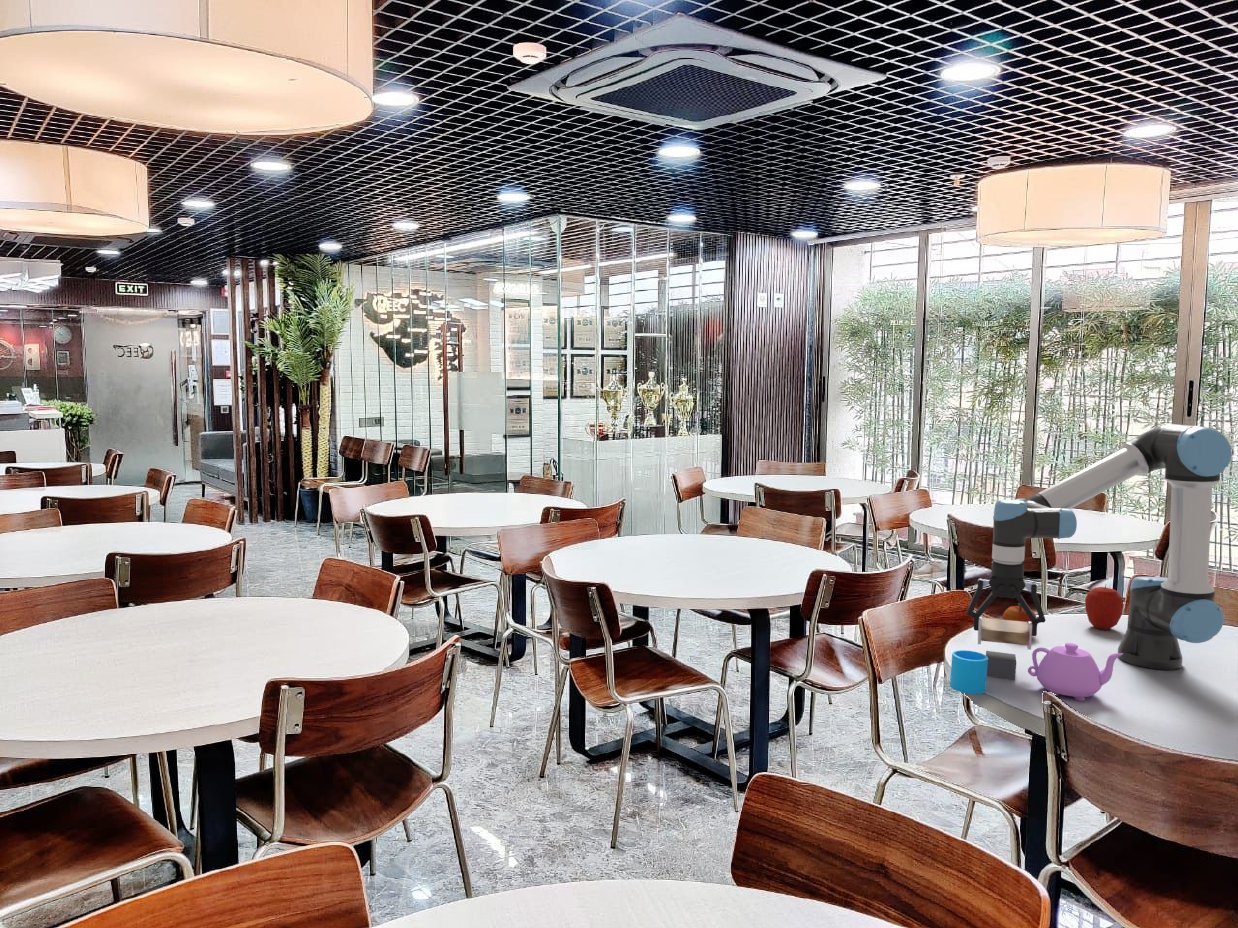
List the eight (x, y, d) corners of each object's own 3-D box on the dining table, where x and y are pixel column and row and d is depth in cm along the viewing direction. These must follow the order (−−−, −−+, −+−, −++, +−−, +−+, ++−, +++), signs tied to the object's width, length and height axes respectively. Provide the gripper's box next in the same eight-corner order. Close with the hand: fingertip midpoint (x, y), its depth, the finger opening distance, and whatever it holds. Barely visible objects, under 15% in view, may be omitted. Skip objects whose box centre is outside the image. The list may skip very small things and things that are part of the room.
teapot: (1120, 693, 219) (1124, 644, 218) (1117, 711, 207) (1121, 660, 205) (1030, 677, 229) (1034, 630, 228) (1022, 693, 217) (1026, 644, 216)
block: (1026, 633, 233) (1027, 621, 233) (1029, 645, 223) (1029, 633, 223) (981, 628, 237) (981, 617, 237) (981, 640, 227) (981, 629, 227)
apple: (1126, 629, 274) (1130, 584, 273) (1113, 635, 268) (1117, 589, 266) (1090, 621, 282) (1094, 577, 281) (1077, 627, 275) (1081, 582, 274)
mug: (989, 695, 216) (992, 662, 215) (954, 692, 217) (956, 659, 216) (976, 678, 228) (979, 646, 227) (943, 675, 229) (945, 644, 228)
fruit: (1032, 631, 270) (1035, 598, 269) (1039, 640, 260) (1042, 607, 259) (998, 628, 272) (1000, 596, 271) (1004, 637, 263) (1006, 604, 261)
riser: (1014, 671, 233) (1015, 654, 233) (1015, 679, 227) (1016, 662, 226) (984, 667, 236) (986, 650, 235) (985, 675, 229) (986, 658, 229)
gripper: (1058, 561, 227) (1053, 646, 230) (958, 554, 236) (955, 636, 238) (1060, 567, 220) (1055, 655, 223) (958, 560, 229) (954, 644, 231)
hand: (1004, 645), depth 230 cm, fingers closed on block, 11 cm apart
